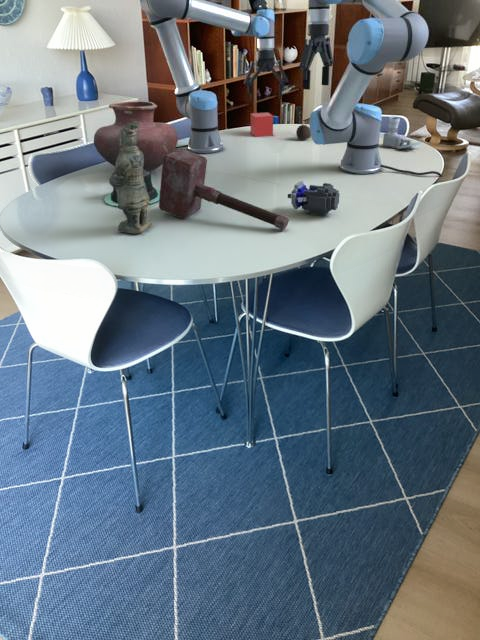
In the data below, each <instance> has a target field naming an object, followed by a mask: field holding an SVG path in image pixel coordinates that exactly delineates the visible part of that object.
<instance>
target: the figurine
mask: <svg viewBox="0 0 480 640" xmlns="http://www.w3.org/2000/svg"><path fill="white" fill-rule="evenodd" d="M305 123H306V122H305V120H302V123H301V125H298V127H297V128H296V132H295V135H296V137H297V139H298V140H302V141H304V140H308V139H310V138H312V137H311V134H310V126H309V125H305Z"/></svg>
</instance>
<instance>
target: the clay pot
mask: <svg viewBox="0 0 480 640" xmlns="http://www.w3.org/2000/svg"><path fill="white" fill-rule="evenodd" d="M157 107H158V105H157V104H155V103H154V102H152V101H145V100H141V101H140V100H138V101H120V102H113V103H109V104H108V108H110V109H112V110H113V113H114V116H115V119H114V122H113V124H110V125H105V126H101V127H98V128H97V130H96V131H95V132H94V135H93V145H94V148H95V149H96V152H97V153H98V154H99V155H100V156H101V157H102V158H103V159H104V160H105V161H106V162H107V163H108V164H110V165H111V166H113V167H115V164H116V160H117V156H118V154H119V151H120V147H119V140H118V138H119V133H120V130H121V129H123V128H124V127H125V126H126V125H127V124H128V123H131V122H133V121H137V122H138V123H139V127H138V130H137V131H136V138H137V143H136V146H137V147H138V149H139V150H141V151H142V153H143V156H144V166H143V169H144V170H146V171H147V172H151V171H153V170H157V169H158V168H160V167H161V166H163V158H164V156H165V155H167V154H170V153H172V152H174V151H175V150H176V149H175V147H177V145H178V141H179V140H178V139H179V138H178V133H177V131H176V129H175V128H174V127H173V125H171V124H169V123H166V122H156V121H155V122H154V114H155V110H156V109H157Z"/></svg>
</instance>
